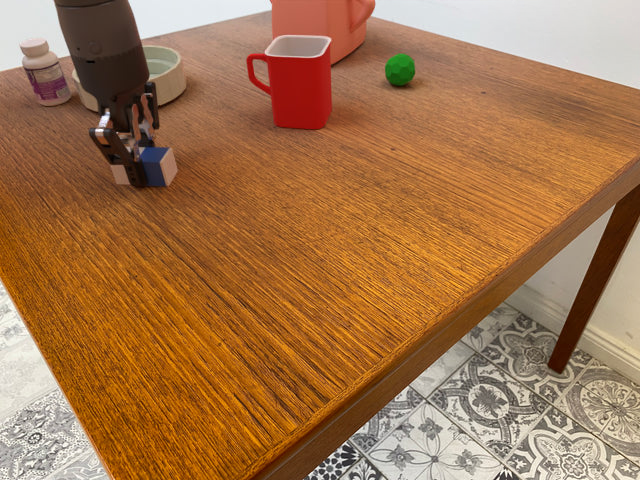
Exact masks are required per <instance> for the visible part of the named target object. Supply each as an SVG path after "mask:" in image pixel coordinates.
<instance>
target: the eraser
mask: <svg viewBox="0 0 640 480" xmlns="http://www.w3.org/2000/svg"><path fill="white" fill-rule="evenodd" d="M125 147H126V148H127V150H128V151H129V152H131V150H130V146H125ZM139 151H140V159H142V163H143V166H144V169H145V172H146V176H147V179H148V184H147V185H146V186H145V187H169V186H170V185H171V183H172V182H173V180H174V178H175V177H176V176H177V173H178V172H179V169H178V166H177V161H176V159H175V156H174V151H173V148H172V147H168V146H167V147H165V146H164V147H163V146H156V147H139ZM109 166H110V170H111V171H112V175H113V178H114V180H115V183H116V185H128V186H132V185H131V184H130V183H129V180H128V177H127V174H126V172H125V169H124V166H123V165H110V164H109Z"/></svg>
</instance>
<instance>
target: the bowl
mask: <svg viewBox="0 0 640 480" xmlns="http://www.w3.org/2000/svg"><path fill="white" fill-rule="evenodd" d="M142 46H143V50H144V54H145V58H146V61H147V65H148V69H149V73H150V77H149V80H148V81H147V82H155V84H156V92H157V102H158V107H159V105H160V106H162V105H165V104H167V103H169V102H171V101H173V100H175V99H176V98H178V96H180V95H182V94H183V93H184V91H185V90H186V88H187V84H188V80H187V77H186V72H185V67H184V63H183V62H184V61H183V58H182V55H181V54H180V52H179V51H178V50H175V49H174V48H170V47H167V46H164V45H163V46H162V45H155V44H148V45H146V44H142ZM71 75H72V80H73V82H74V86H75V88H76V91H77V94H78V97H79V99H80V102H81V104H82V105H83V106H84V107H85V108H86V109H89V110H91V111H93V112H96V113H97V112H98V105H97V100H96V98H95V97H94V96H92V95H91V94H89V93H87V92H86V91H84V89H83V88H82V86H81V84H80V81H79V78H78V75H77V73H76V70H75V67H74V68H73V70H72V71H71Z"/></svg>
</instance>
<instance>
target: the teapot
mask: <svg viewBox="0 0 640 480" xmlns="http://www.w3.org/2000/svg"><path fill="white" fill-rule="evenodd" d="M269 2H270V4H271V36H272V41H273V40H274V39H275V38H277V37H278V36H282V35H307V36H326V37H329V38H331V45H330V61H331V65H334V64H336V63H337V62H339V61H341V60H342V59H344V58H345V57H346V56H348V55H350V54H351V53H352V52H354V51H355V50H356V49H357V48H359V47H360V46H361V45H362V44H363V43H364V42H365V39H366V34H367V20H369V18H370V17H371V16H372V15H373V13H374V11H375V8H376V0H269Z"/></svg>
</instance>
